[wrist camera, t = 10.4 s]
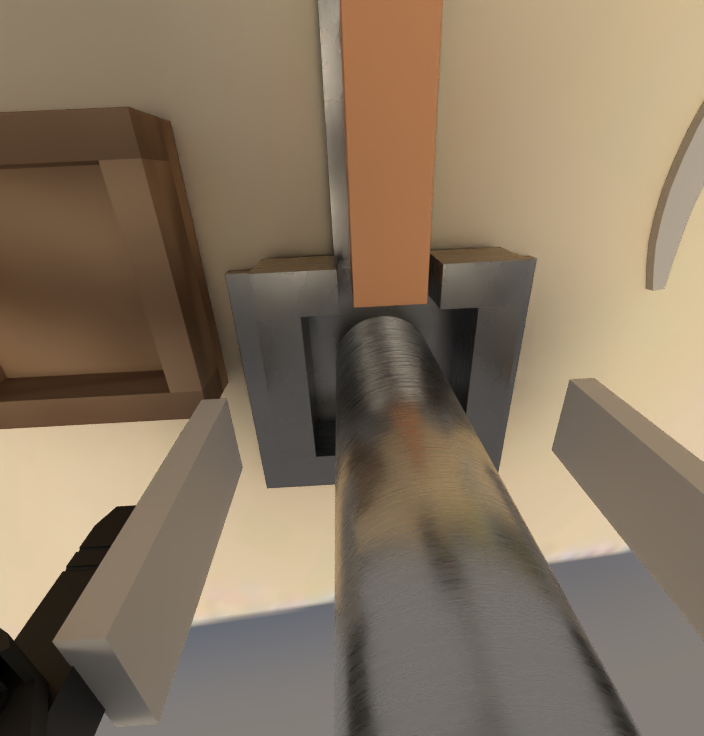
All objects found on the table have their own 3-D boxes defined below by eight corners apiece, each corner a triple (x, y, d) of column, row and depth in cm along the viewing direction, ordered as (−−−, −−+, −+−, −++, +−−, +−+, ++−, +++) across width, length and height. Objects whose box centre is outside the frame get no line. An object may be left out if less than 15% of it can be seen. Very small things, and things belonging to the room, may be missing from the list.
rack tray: (-134, 135, 12) (-255, 123, 10) (170, 121, 12) (127, 106, 10) (7, 394, 17) (-51, 431, 14) (228, 382, 17) (209, 417, 14)
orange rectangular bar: (339, 12, 11) (340, -30, 8) (422, 9, 11) (444, -35, 8) (351, 288, 14) (354, 307, 12) (413, 285, 14) (427, 303, 12)
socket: (135, -216, 9) (48, -387, 6) (613, -233, 9) (728, -406, 7) (269, 479, 20) (258, 528, 17) (493, 466, 20) (518, 513, 17)
